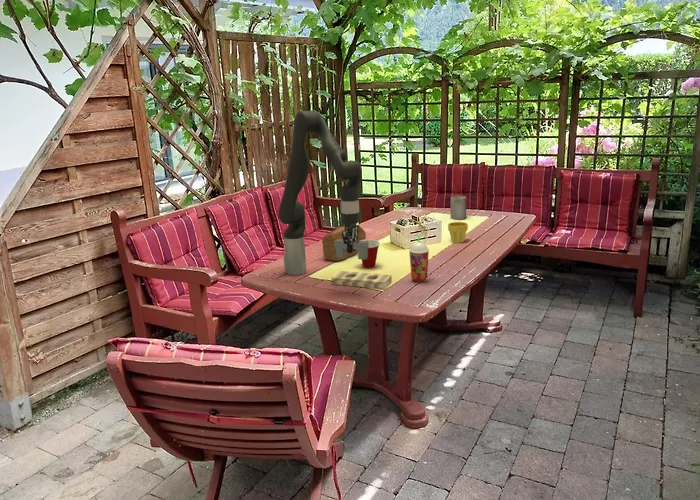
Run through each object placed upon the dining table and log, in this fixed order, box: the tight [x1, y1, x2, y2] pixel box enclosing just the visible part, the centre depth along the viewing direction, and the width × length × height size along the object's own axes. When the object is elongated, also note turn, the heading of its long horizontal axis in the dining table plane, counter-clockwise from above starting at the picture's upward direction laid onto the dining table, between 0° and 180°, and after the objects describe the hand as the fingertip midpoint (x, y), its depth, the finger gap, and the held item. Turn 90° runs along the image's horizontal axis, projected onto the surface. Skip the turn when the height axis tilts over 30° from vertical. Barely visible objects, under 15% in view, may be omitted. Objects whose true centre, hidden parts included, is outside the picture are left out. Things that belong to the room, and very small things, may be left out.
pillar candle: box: [450, 195, 467, 221], centre depth 357 cm, size 10×10×15 cm
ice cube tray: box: [331, 270, 393, 290], centre depth 247 cm, size 24×10×3 cm, turn 68°
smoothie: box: [409, 235, 430, 283], centre depth 245 cm, size 8×8×20 cm
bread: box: [321, 225, 367, 262], centre depth 289 cm, size 12×28×14 cm, turn 146°
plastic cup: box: [360, 238, 381, 269], centre depth 268 cm, size 11×11×12 cm
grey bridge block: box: [334, 239, 369, 261], centre depth 234 cm, size 14×3×7 cm, turn 67°
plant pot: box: [447, 221, 469, 244], centre depth 305 cm, size 10×10×10 cm
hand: (351, 251), depth 235 cm, fingers closed on grey bridge block, 3 cm apart
